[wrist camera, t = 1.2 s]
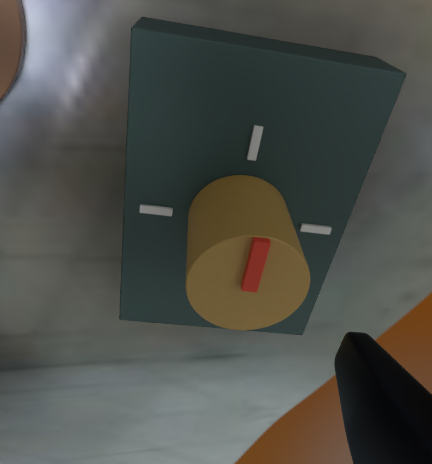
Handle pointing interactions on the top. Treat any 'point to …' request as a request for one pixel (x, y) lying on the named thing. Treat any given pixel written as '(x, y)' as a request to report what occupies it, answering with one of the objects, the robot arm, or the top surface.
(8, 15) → the coaster
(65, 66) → the top surface
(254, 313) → the tap knob
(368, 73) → the green dial base
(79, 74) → the top surface
